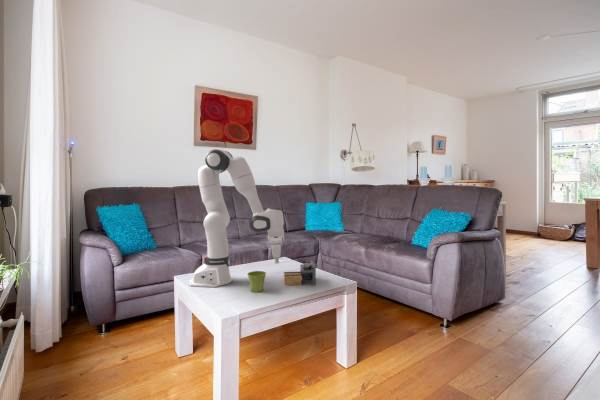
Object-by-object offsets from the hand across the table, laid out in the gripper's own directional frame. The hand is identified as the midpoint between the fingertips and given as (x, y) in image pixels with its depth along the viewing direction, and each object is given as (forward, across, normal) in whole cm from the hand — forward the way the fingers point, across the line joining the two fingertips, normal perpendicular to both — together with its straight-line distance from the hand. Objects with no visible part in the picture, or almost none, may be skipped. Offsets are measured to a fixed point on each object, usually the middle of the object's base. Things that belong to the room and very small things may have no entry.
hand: (277, 262), depth 174 cm
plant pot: (+11, +11, -10) cm, 19 cm away
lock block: (+12, 0, +8) cm, 14 cm away
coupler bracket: (+12, 0, +17) cm, 21 cm away
